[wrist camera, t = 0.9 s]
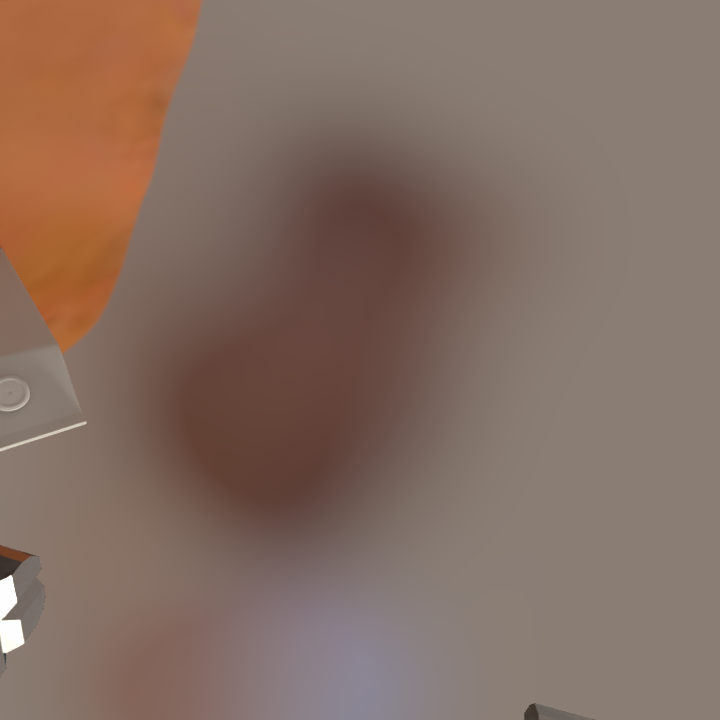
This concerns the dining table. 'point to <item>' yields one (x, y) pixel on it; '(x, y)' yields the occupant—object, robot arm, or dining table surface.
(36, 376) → the milk carton
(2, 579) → the robot arm
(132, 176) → the dining table surface
